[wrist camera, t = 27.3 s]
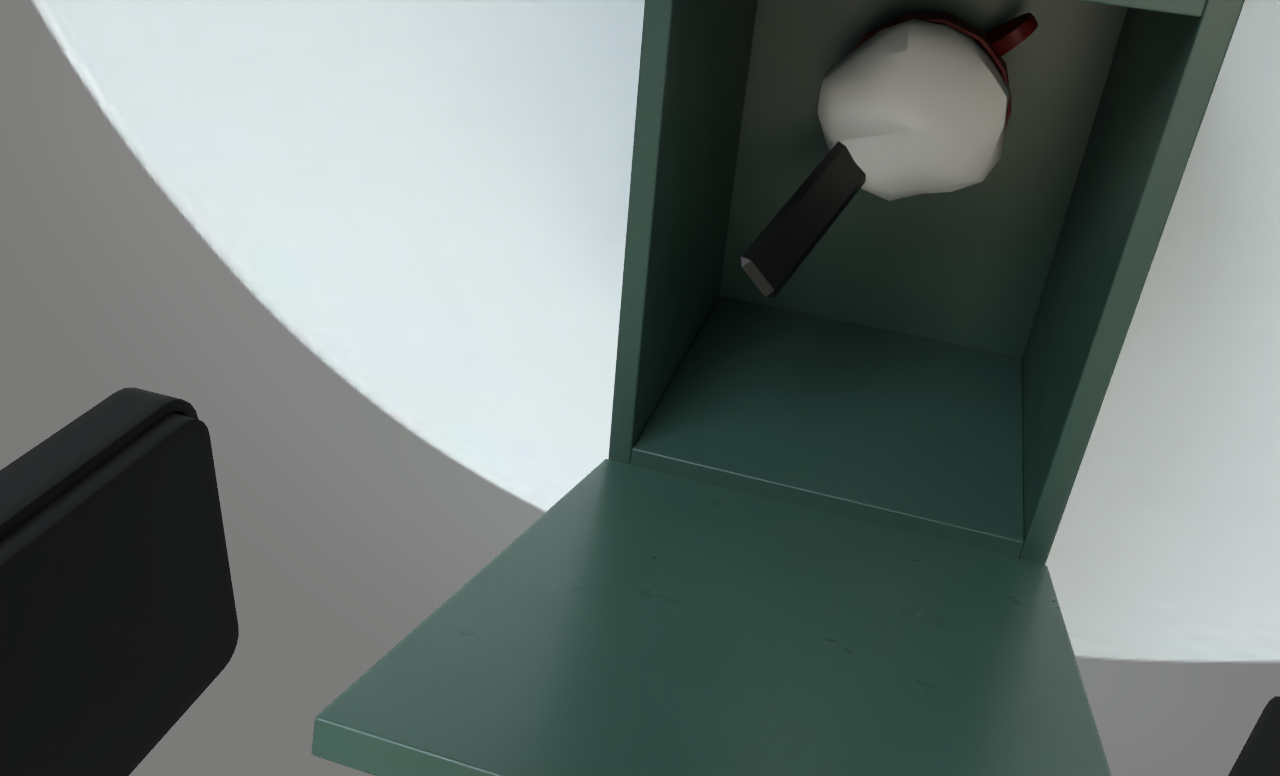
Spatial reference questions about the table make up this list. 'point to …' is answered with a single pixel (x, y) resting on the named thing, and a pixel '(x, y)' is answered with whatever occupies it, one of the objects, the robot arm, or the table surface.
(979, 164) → the cocoa
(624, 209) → the table surface
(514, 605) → the bin lid
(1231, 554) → the table surface
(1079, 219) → the trash bin
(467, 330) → the table surface
